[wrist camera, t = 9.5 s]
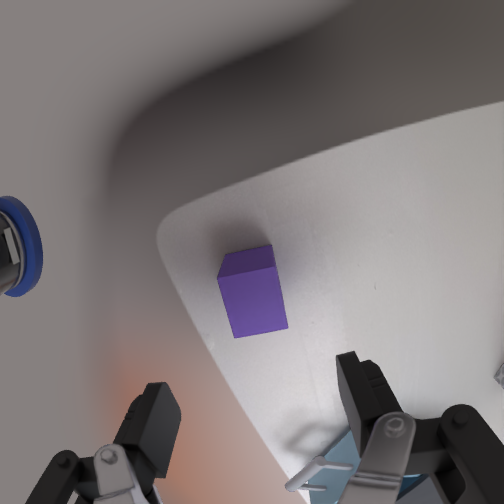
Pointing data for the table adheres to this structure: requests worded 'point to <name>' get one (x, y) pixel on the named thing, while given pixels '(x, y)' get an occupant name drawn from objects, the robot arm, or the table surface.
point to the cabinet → (420, 492)
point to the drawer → (333, 473)
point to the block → (252, 292)
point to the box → (500, 376)
